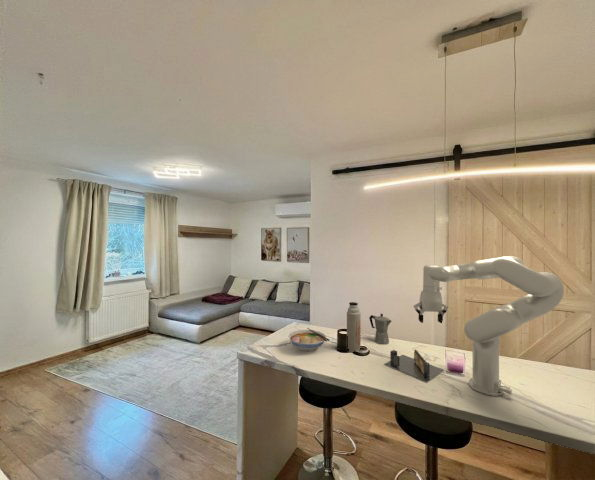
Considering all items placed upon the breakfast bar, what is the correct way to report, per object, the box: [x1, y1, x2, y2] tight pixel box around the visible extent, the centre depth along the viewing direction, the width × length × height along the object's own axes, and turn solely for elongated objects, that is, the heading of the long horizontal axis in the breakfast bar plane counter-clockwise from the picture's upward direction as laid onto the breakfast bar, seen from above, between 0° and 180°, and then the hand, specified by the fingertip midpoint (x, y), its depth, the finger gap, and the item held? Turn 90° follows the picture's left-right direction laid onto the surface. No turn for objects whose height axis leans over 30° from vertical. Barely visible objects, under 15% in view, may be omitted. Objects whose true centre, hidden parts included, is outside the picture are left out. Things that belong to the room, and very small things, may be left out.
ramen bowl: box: [288, 327, 330, 352], centre depth 157 cm, size 25×23×8 cm
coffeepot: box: [369, 313, 392, 345], centre depth 168 cm, size 15×9×18 cm, turn 44°
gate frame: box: [383, 349, 445, 383], centre depth 133 cm, size 22×18×7 cm
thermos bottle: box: [346, 301, 362, 353], centre depth 154 cm, size 8×8×28 cm
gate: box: [413, 349, 427, 374], centre depth 131 cm, size 14×2×6 cm, turn 173°
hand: (430, 322), depth 134 cm, fingers open, 9 cm apart
